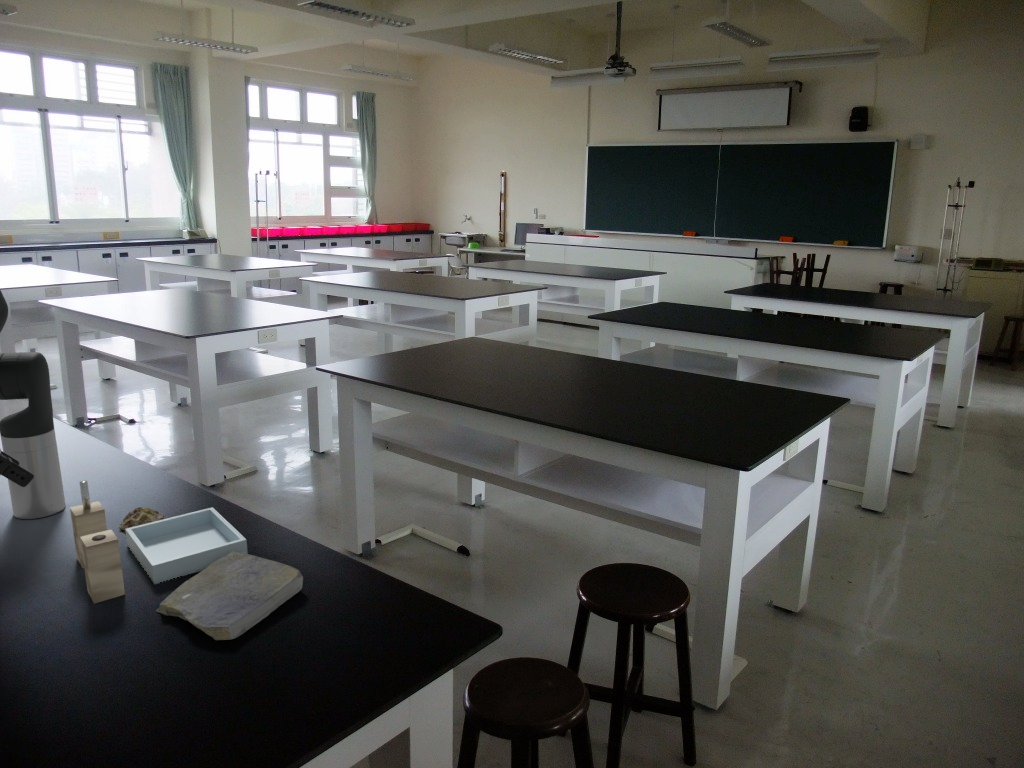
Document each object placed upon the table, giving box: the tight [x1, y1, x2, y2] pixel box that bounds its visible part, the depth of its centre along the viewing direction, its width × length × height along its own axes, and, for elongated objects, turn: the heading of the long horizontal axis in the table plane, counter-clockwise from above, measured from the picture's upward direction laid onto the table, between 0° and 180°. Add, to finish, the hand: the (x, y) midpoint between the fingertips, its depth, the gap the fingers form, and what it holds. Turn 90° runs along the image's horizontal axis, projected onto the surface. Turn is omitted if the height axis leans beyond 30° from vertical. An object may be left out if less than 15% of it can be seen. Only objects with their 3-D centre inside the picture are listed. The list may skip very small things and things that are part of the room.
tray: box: [124, 507, 249, 585], centre depth 139 cm, size 18×16×4 cm
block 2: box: [80, 529, 126, 604], centre depth 124 cm, size 5×5×10 cm
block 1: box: [69, 480, 108, 569], centre depth 134 cm, size 5×5×15 cm
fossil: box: [155, 551, 304, 641], centre depth 123 cm, size 20×5×17 cm
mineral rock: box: [118, 506, 166, 533], centre depth 149 cm, size 11×4×8 cm
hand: (21, 474), depth 114 cm, fingers open, 8 cm apart
